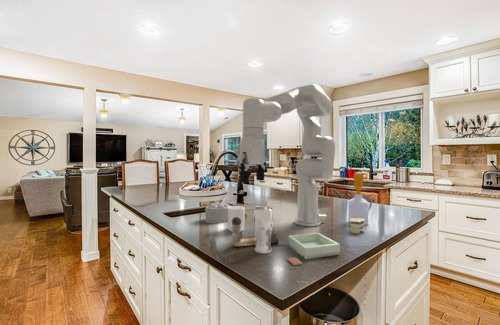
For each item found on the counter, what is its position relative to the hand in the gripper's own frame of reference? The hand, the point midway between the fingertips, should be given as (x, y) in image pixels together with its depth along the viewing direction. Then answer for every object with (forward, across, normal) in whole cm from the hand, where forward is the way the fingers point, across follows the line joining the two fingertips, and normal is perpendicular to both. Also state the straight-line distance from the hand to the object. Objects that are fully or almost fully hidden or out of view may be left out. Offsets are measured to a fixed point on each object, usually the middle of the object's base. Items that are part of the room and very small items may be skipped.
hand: (252, 181), depth 92 cm
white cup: (+24, -13, -18) cm, 33 cm away
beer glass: (+24, 0, +5) cm, 25 cm away
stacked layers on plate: (+24, -42, +26) cm, 55 cm away
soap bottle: (+24, -57, +23) cm, 66 cm away
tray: (+24, -11, +19) cm, 32 cm away
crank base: (+24, -3, +10) cm, 26 cm away
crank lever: (+23, -3, 0) cm, 24 cm away
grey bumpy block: (+24, -19, -36) cm, 47 cm away
